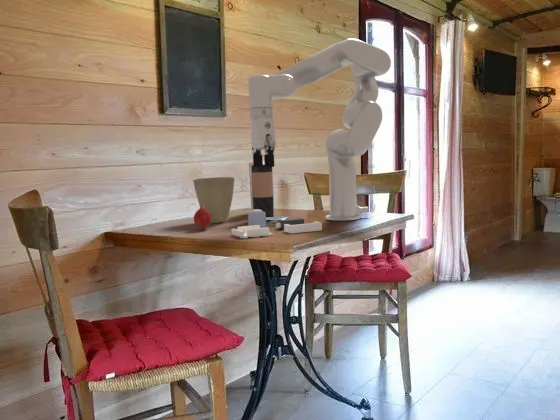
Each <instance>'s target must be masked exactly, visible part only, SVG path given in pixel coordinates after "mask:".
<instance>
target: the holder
mask: <svg viewBox="0 0 560 420" xmlns="http://www.w3.org/2000/svg"><path fill="white" fill-rule="evenodd" d="M233 235H234V236H233ZM271 235H272V236H273V235H274V233H273V232H270V227H267V226H266V228H260V225H252V226H249V225H244V226H243V225H242V226H237V227H236V228H231V236H233V237H235V236H237V237H236V238H238V237H240V238H239V239H241V238H243V239H249V238H248V237H253V238H261V237H260V236H263V237H270V236H271Z"/></svg>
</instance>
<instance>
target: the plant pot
mask: <svg viewBox="0 0 560 420" xmlns="http://www.w3.org/2000/svg"><path fill="white" fill-rule="evenodd" d="M192 180H193V186H194V190H195V195H196V199H197V202H198V205H199V209H200V208H201V206H204V208H205V209H206V210H208V211H209V213H210V214H211V218H212V219H211V223H210V224H220V222H221V223H226V222H227V221H228V218H229V214H230V210H231V206H232V201H233V195H234V187H235V176H218V177H201V178H193V179H192Z"/></svg>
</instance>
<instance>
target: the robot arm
mask: <svg viewBox="0 0 560 420" xmlns="http://www.w3.org/2000/svg"><path fill="white" fill-rule="evenodd" d="M391 64H392V60H391V56H390V55H389V54H388V53H387V52H386V51H385V50H383V49H382V48H380V47H376V46H374V45H372V44H370V43H367V42H365V41H363V40H360V39H357V38H347V39H344V40H342V41H338V42H336V43H335V42H334V43H333V44H332V45H329V46H327V47H325V48H324V49H322V50H320V51H318V52H315V53H314V54H312V55H310V56H308V57H307V58H304V59H302V60H300V61H299V62H296V63H295V64H293V65H291V66H289V67H287V68H286V69H283V70H281V71H279V72H277V73H275V74H273V75H267V74H256V75H251V76H249V78H248V81H247V83H248V84H247V85H248V86H247V87H248V105H249V119H250V120H251V126H250V127H251V134H250V135H251V136H250V137H251V141H250V143H251V150H252V153H251V154H252V162H253V166H254V167H262V166H263V161H264V162H265V167H272V168H274V167H275V148H276V147H277V143H276V142H277V141H276V131H275V124H274V118H273V117H274V113H273V111H274V110H273V109H274V107H273V101H275V100H280V99H286V98H289V97H291V96H293V95H294V94H295V93H296V91H297V88H300V87H303V86H307V85H311V84H313V83H314V84H315V83H316V82H318V81H321V80H323V79H324V78H326V77H328V76H330V75H331V74H333V73H335V72H337V71H339V70H340V69H343V68H345V67H347V66H350V68H351V69H350V70H351V73H352V76H353V77H354V82H355V88H354V90H353V91H354V92H353V94H352V95H351V97H350V100H349V101H348V103H347V105H346V107H345V109H344V111H343V113H342V116H341V121H342V124H343V126H344V127H345V128H341V129H340V128H339V129H335V130H333V131H331V132H330V133H329V134H328V135H327V137H326V140H325V151H326V156H327V161H328V183H329V184H328V185H329V187H328V188H329V214H327V215H325V220H327V221H332V222H333V221H334V222H337V221H339V222H346V221H348V222H349V221H356V220H361V219H362V215H361V213H368V212H369V210H370V209H369V207H368V206H362V207H361V206H360V205H358V204H357V203H358V200H357V199H358V198H357V167H356V163H355V162H356V161H355V159H354V157H360V156H362V155H364V154H365V153H366V152H367V151H368V149H369V148H370V147H371V144H372V143H373V140H374V139H375V137H376V135H377V133H378V131H379V129H380V127H381V123H382V121H383V111H382V107H381V106H380V105H379V104H378V103H377V100H378V97H379V86H378V83H377V80H376V77H379V76H383V75H385V74H387V73H388V72H389V71H390V69H391V67H392V65H391ZM262 151H264V155H263V154H262ZM263 158H264V160H263Z"/></svg>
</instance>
